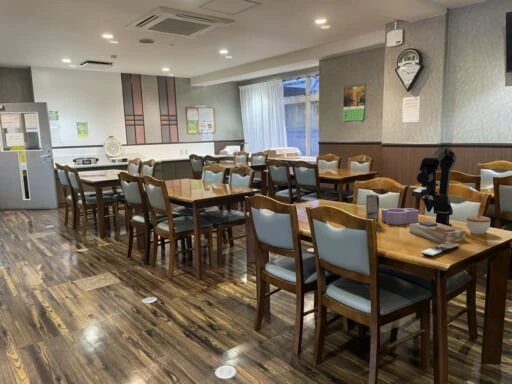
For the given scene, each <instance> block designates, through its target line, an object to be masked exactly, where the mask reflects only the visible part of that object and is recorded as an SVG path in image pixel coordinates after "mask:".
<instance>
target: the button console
mask: <svg viewBox="0 0 512 384" xmlns="http://www.w3.org/2000/svg"><path fill="white" fill-rule="evenodd" d="M429 221H430V222H434V223H436V221H432V220H429ZM440 226H446V225H443V224H439V223H437V226H433V227H426V226H422V225H419V222H414V223H409V228H408V231H409V233H410V234H413V235H416V236H419V237H422V238H425V239H428V240H431V241H434V242H437V243H439V244H442V243H443V244H446V242H449V243H454V242H460V241H465V240H466V230H463V229H460V228H457V227H452V226H451V225H448V227H451V228H455V231H451V232H442V231H439V230H436V227H440Z"/></svg>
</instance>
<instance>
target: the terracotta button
mask: <svg viewBox="0 0 512 384" xmlns="http://www.w3.org/2000/svg"><path fill="white" fill-rule="evenodd" d="M448 226H449V225H448ZM448 226H440V227H436V230H439V231H442V232H451V231H455V228H456V227H453V228H451V227H452V226H450V227H448Z"/></svg>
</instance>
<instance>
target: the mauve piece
mask: <svg viewBox="0 0 512 384" xmlns="http://www.w3.org/2000/svg"><path fill="white" fill-rule="evenodd" d="M419 212H420V211H419V209H416V208H415V207H414V208H413V207H411V208H410V207H407V208H406V207H405V208H398V207H397V208H395V207H394V208H393V207H392V208H391V207H390V208H384V209H381V222H384V221H385V223H386V225H390V224H391V225H405V224H408V223H409V224H414V223H419Z"/></svg>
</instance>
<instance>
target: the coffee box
mask: <svg viewBox="0 0 512 384" xmlns="http://www.w3.org/2000/svg"><path fill="white" fill-rule="evenodd" d="M365 197H366V198H365V200H366V201H365V202H366V203H365V204H366V205H365V206H366V208H365V209H366V210H365V213H366V214H365V216H366V217H365V220H366V219H374V220H375V221H376V224H377V225H376V226H378V225H379V217H380V216H379V215H380V214H379V210H380V196H379V195H378V194H366V195H365Z"/></svg>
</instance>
